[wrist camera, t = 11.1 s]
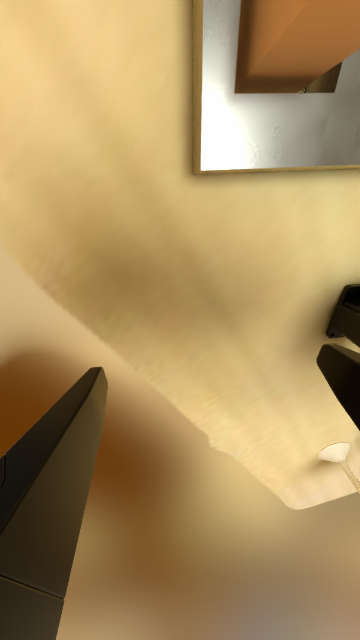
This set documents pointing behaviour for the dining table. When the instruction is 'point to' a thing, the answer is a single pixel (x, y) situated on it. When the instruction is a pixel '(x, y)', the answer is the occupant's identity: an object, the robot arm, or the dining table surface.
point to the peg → (292, 42)
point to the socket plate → (266, 108)
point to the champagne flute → (340, 459)
